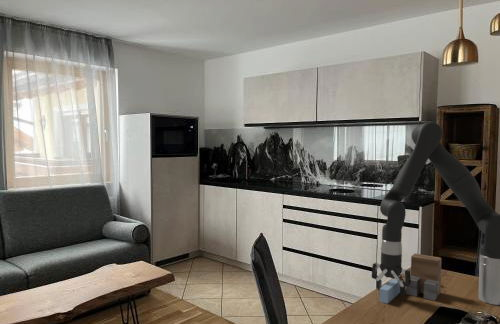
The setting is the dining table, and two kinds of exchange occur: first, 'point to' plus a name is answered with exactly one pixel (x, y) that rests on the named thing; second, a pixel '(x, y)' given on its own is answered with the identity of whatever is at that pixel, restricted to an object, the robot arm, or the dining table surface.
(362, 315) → the dining table surface
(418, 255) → the brown and grey stand
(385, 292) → the blue and white bar
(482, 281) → the robot arm
